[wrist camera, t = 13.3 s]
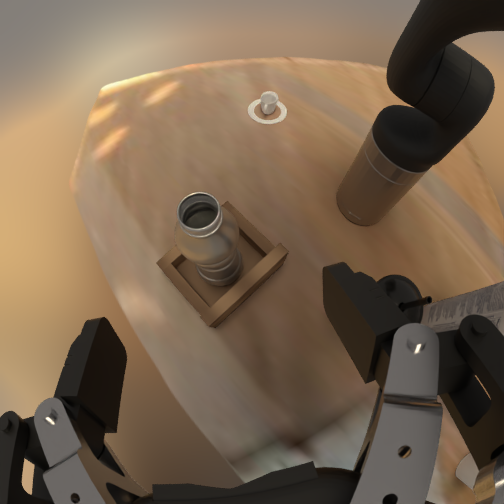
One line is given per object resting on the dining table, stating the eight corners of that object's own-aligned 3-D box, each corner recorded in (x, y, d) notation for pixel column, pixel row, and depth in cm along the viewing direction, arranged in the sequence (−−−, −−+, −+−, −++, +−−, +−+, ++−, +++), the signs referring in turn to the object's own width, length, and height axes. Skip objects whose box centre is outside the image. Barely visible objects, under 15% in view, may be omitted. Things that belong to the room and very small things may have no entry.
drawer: (228, 210, 45) (225, 191, 39) (283, 263, 43) (288, 251, 37) (163, 268, 42) (149, 257, 36) (215, 327, 40) (208, 326, 34)
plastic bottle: (242, 290, 41) (236, 249, 22) (196, 287, 41) (154, 245, 22) (244, 248, 43) (241, 178, 24) (200, 245, 43) (166, 177, 24)
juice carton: (397, 355, 39) (530, 355, 13) (420, 298, 41) (544, 253, 15) (431, 374, 37) (556, 380, 11) (452, 320, 40) (570, 291, 14)
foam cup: (446, 490, 29) (481, 510, 16) (452, 458, 31) (492, 475, 19) (477, 471, 29) (512, 485, 17) (483, 439, 32) (522, 450, 19)
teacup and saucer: (265, 93, 54) (265, 79, 50) (295, 108, 53) (298, 95, 49) (239, 114, 52) (239, 100, 48) (272, 131, 51) (273, 117, 47)
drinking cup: (323, 307, 41) (381, 282, 22) (363, 285, 42) (436, 246, 23) (344, 351, 39) (416, 358, 20) (383, 326, 40) (466, 313, 21)
